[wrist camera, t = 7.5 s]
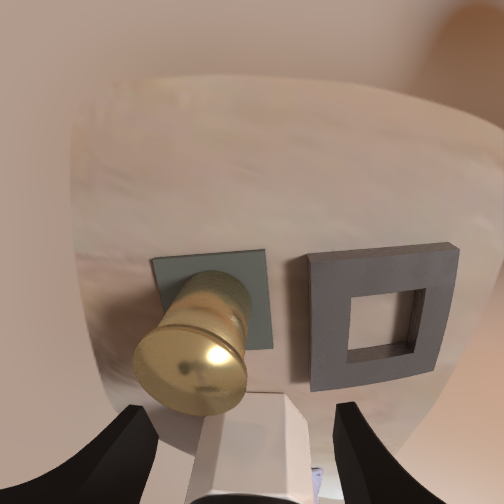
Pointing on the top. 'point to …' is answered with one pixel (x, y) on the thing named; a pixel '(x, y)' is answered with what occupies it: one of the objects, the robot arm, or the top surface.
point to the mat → (234, 263)
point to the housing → (372, 283)
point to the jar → (253, 455)
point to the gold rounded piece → (198, 347)
